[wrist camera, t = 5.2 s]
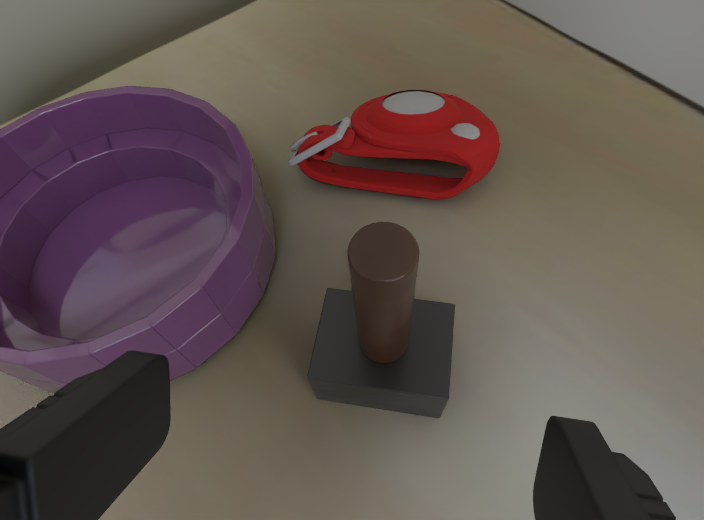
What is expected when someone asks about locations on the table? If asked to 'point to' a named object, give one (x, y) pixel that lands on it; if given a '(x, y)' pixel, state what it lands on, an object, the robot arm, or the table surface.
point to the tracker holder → (403, 144)
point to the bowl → (126, 234)
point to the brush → (383, 331)
